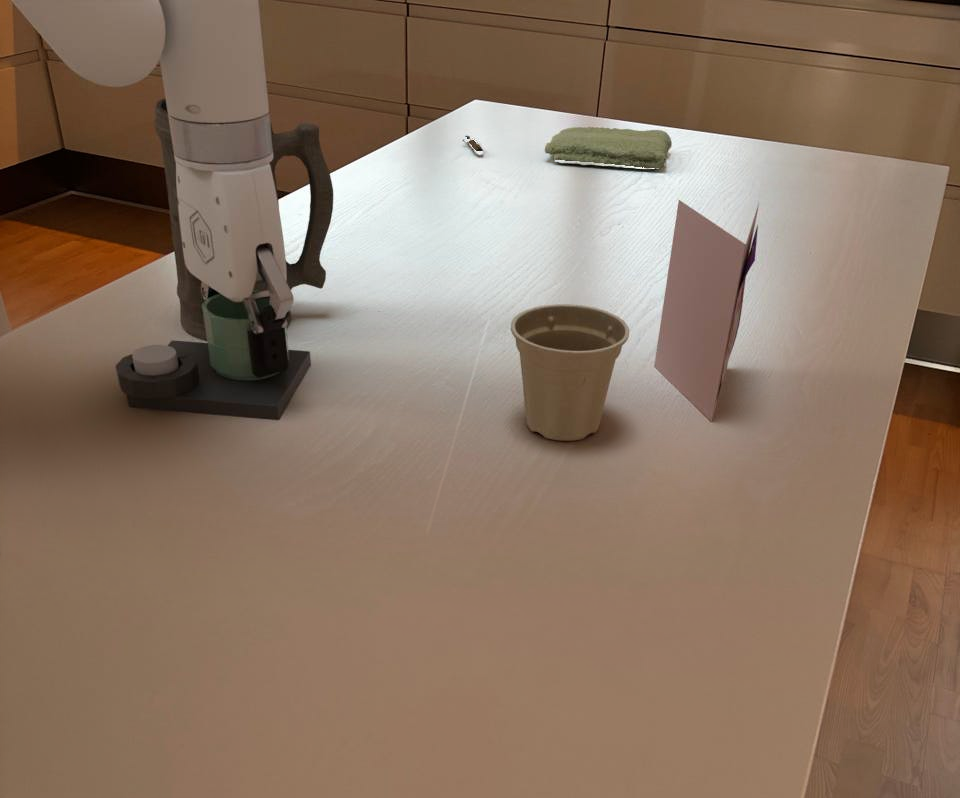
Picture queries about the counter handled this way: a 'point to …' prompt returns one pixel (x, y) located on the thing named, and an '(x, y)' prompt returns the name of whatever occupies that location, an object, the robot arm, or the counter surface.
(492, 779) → the counter surface
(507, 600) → the counter surface
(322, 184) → the beer stein
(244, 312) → the cup
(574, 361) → the flower pot
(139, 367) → the button
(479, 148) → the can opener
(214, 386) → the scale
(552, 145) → the washcloth
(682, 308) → the greeting card
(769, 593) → the counter surface
